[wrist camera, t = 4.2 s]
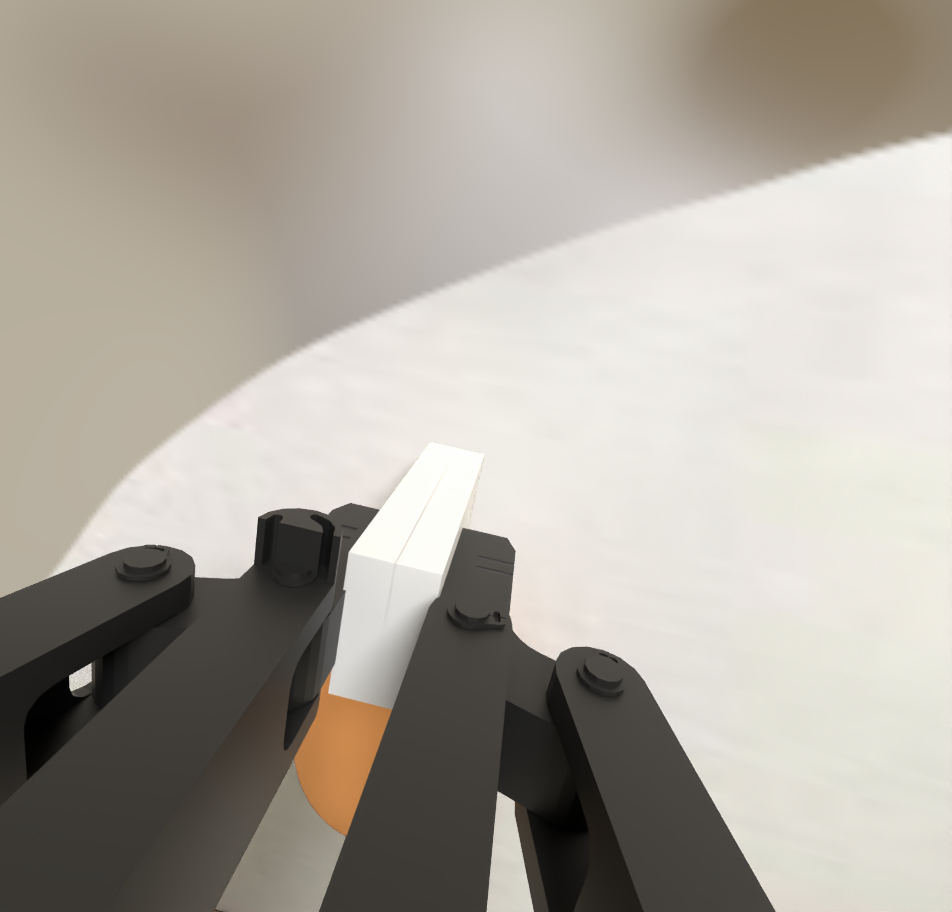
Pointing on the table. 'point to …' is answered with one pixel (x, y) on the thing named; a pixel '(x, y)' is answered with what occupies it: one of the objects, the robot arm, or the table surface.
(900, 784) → the table surface
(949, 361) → the table surface
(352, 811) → the ball
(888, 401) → the table surface
